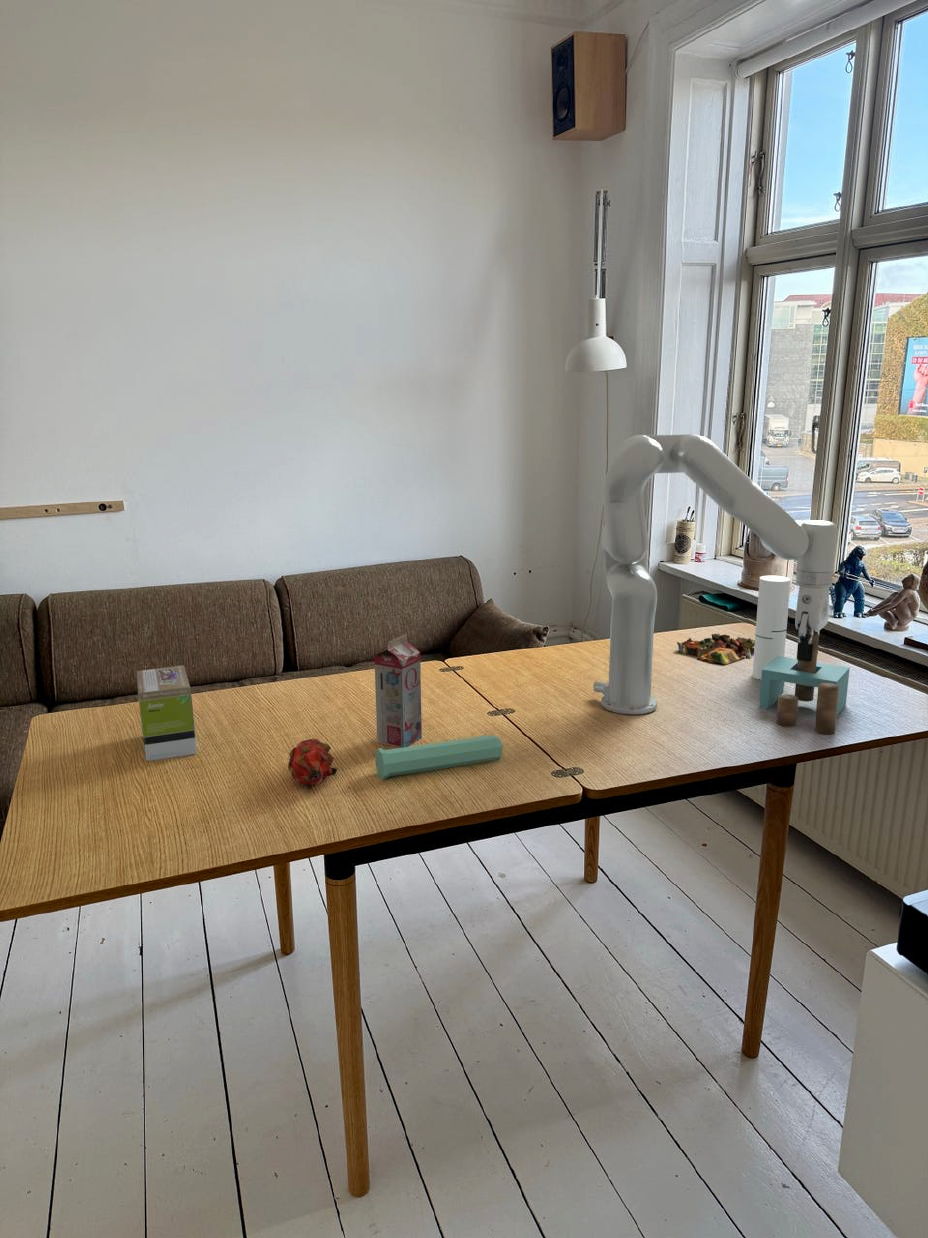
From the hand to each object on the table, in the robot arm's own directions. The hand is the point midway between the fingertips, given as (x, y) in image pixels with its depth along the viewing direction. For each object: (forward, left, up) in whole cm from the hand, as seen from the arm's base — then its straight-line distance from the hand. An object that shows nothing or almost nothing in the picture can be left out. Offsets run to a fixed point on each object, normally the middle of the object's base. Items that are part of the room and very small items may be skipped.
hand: (807, 657), depth 207 cm
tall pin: (0, 0, -10) cm, 10 cm away
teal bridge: (0, 0, -12) cm, 12 cm away
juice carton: (-64, -66, -12) cm, 93 cm away
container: (-49, -72, -12) cm, 88 cm away
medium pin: (+8, -13, -12) cm, 19 cm away
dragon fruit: (-65, -91, -12) cm, 112 cm away
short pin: (0, -13, -12) cm, 17 cm away
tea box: (-102, -94, -12) cm, 139 cm away
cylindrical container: (-13, +17, -12) cm, 25 cm away
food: (-30, +32, -12) cm, 46 cm away
